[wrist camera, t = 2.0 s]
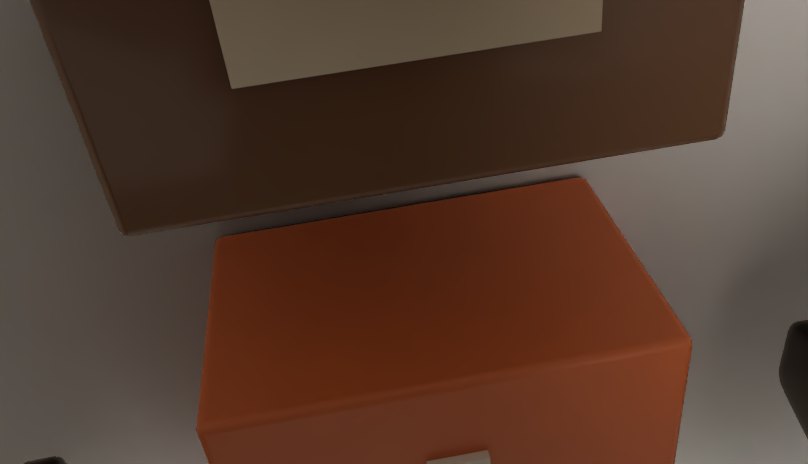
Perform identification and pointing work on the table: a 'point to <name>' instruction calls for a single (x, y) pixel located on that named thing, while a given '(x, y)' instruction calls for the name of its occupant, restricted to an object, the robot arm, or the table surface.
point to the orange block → (442, 338)
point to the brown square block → (373, 94)
